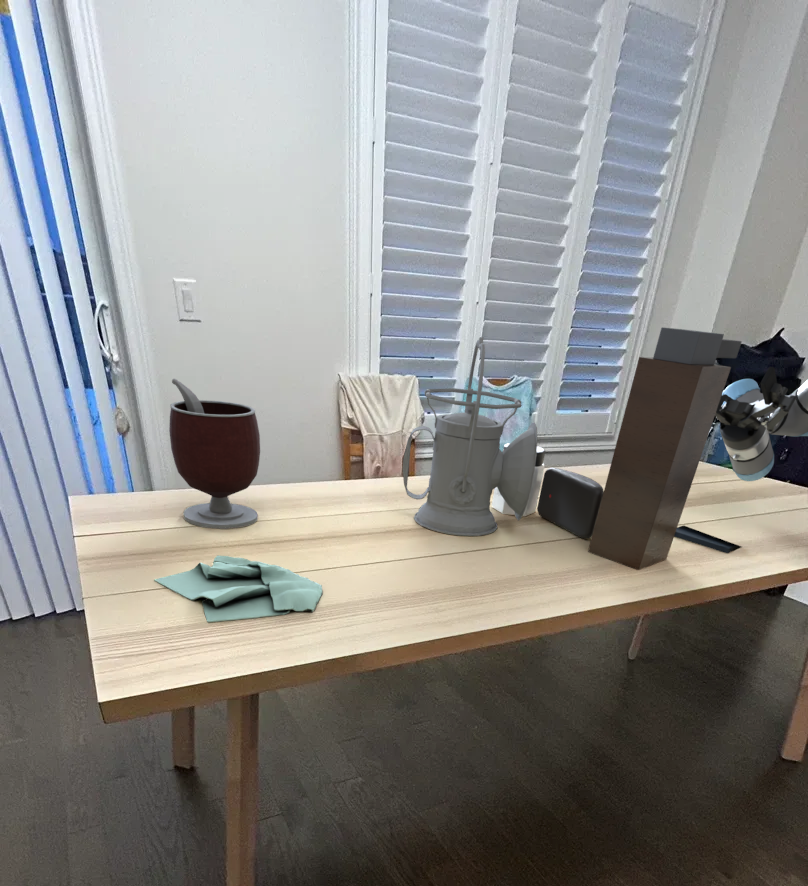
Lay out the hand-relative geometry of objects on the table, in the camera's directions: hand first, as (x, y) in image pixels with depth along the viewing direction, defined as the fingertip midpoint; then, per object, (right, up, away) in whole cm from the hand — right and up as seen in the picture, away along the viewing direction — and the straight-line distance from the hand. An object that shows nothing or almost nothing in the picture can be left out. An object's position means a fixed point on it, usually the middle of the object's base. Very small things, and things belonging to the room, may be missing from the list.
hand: (725, 368), depth 105 cm
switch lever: (-7, -3, -7) cm, 11 cm away
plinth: (-14, -29, +7) cm, 33 cm away
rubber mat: (+9, -22, +21) cm, 32 cm away
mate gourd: (-86, -23, +4) cm, 89 cm away
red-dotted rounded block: (-23, -21, +17) cm, 36 cm away
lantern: (-44, -22, +14) cm, 51 cm away
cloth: (-76, -41, -20) cm, 88 cm away
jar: (-31, -16, +24) cm, 42 cm away
